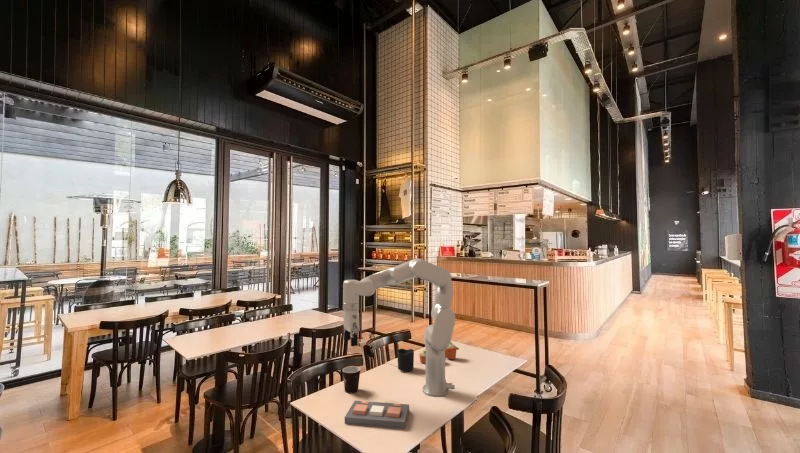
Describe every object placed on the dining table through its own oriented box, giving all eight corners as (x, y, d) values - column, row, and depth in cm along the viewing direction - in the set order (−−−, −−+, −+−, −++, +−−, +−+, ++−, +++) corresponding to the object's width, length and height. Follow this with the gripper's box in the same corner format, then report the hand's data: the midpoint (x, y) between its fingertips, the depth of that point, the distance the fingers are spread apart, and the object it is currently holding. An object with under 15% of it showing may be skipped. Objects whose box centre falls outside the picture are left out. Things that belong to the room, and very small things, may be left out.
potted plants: (441, 351, 223) (440, 336, 223) (461, 356, 212) (461, 341, 213) (414, 361, 204) (414, 345, 204) (435, 368, 193) (435, 351, 194)
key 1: (368, 409, 142) (367, 404, 142) (364, 416, 137) (364, 411, 137) (356, 408, 143) (356, 404, 143) (352, 415, 138) (352, 410, 138)
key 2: (401, 412, 140) (401, 407, 140) (399, 418, 135) (399, 413, 135) (389, 411, 141) (389, 406, 141) (386, 417, 136) (386, 412, 136)
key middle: (384, 411, 141) (384, 406, 141) (381, 417, 136) (381, 412, 136) (372, 410, 142) (372, 405, 142) (369, 416, 137) (369, 411, 137)
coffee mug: (343, 386, 170) (343, 366, 170) (360, 386, 171) (360, 365, 171) (341, 397, 158) (341, 375, 159) (359, 396, 159) (359, 375, 159)
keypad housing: (409, 411, 145) (409, 403, 146) (404, 430, 132) (404, 421, 132) (354, 407, 149) (354, 399, 149) (344, 425, 135) (344, 416, 135)
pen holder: (404, 373, 186) (404, 354, 186) (394, 368, 193) (393, 350, 194) (417, 369, 192) (417, 351, 192) (406, 364, 199) (406, 347, 199)
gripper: (365, 308, 155) (365, 347, 155) (352, 302, 170) (351, 337, 170) (349, 310, 152) (349, 349, 151) (337, 303, 167) (337, 339, 166)
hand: (350, 342), depth 160 cm, fingers open, 9 cm apart
